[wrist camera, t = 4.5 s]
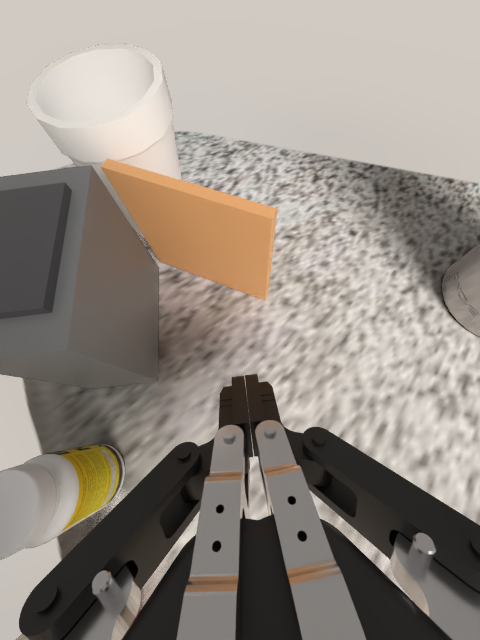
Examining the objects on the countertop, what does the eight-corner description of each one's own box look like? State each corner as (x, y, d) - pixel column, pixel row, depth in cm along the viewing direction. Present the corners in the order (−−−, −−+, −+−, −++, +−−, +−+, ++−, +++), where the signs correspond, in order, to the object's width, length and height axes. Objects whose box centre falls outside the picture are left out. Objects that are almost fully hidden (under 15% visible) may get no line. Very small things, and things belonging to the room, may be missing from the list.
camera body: (158, 267, 27) (85, 155, 15) (158, 381, 23) (57, 346, 11) (103, 274, 27) (-12, 168, 16) (93, 388, 23) (-75, 362, 11)
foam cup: (205, 188, 31) (173, 41, 19) (196, 253, 28) (150, 126, 16) (130, 188, 32) (51, 46, 19) (112, 251, 28) (5, 128, 16)
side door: (163, 255, 27) (107, 158, 17) (267, 293, 25) (277, 208, 15) (159, 261, 27) (100, 166, 17) (264, 300, 25) (272, 219, 14)
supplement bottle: (112, 431, 22) (32, 441, 14) (136, 485, 20) (61, 530, 12) (60, 466, 21) (-56, 497, 13) (80, 524, 20) (-37, 598, 12)
